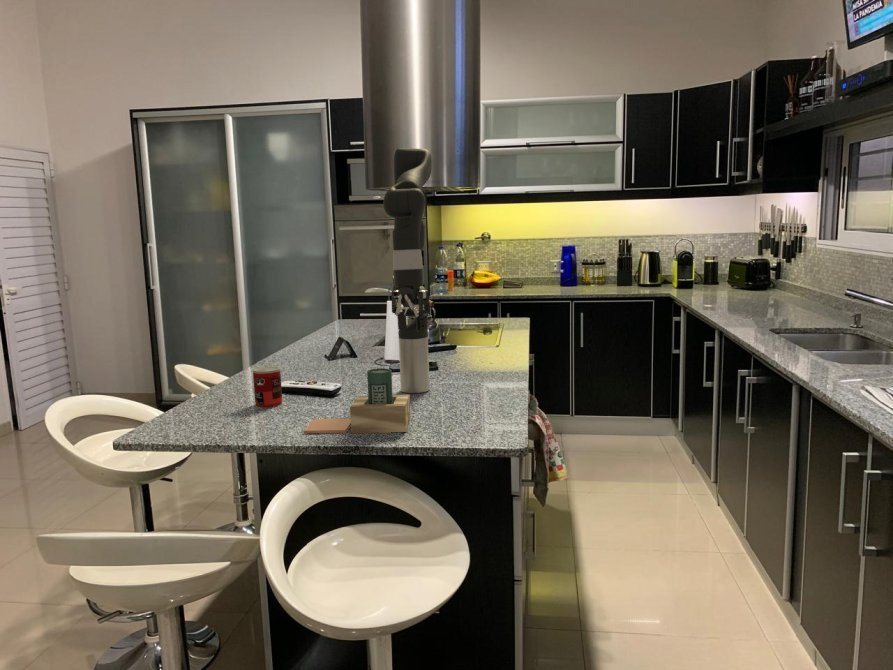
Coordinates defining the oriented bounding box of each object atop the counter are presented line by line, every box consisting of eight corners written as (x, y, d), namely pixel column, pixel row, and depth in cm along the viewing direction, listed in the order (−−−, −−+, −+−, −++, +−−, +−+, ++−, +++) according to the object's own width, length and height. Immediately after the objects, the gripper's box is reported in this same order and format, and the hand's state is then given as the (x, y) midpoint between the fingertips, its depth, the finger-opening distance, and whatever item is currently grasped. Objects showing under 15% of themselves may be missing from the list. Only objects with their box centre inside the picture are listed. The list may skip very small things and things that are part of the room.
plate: (313, 422, 192) (313, 419, 192) (353, 421, 192) (353, 418, 192) (303, 433, 182) (303, 430, 181) (345, 433, 181) (345, 430, 181)
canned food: (254, 403, 216) (251, 368, 214) (280, 400, 219) (278, 365, 217) (256, 409, 209) (254, 372, 207) (284, 405, 212) (281, 369, 210)
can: (394, 423, 189) (392, 368, 187) (392, 429, 183) (389, 372, 181) (372, 423, 189) (369, 368, 187) (368, 430, 183) (365, 373, 181)
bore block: (359, 420, 192) (358, 395, 191) (410, 419, 192) (409, 394, 190) (351, 433, 180) (349, 406, 179) (406, 432, 180) (404, 405, 179)
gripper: (435, 266, 178) (439, 330, 180) (405, 267, 189) (408, 328, 191) (411, 267, 174) (414, 333, 175) (381, 269, 185) (384, 330, 187)
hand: (411, 330), depth 183 cm, fingers open, 8 cm apart
